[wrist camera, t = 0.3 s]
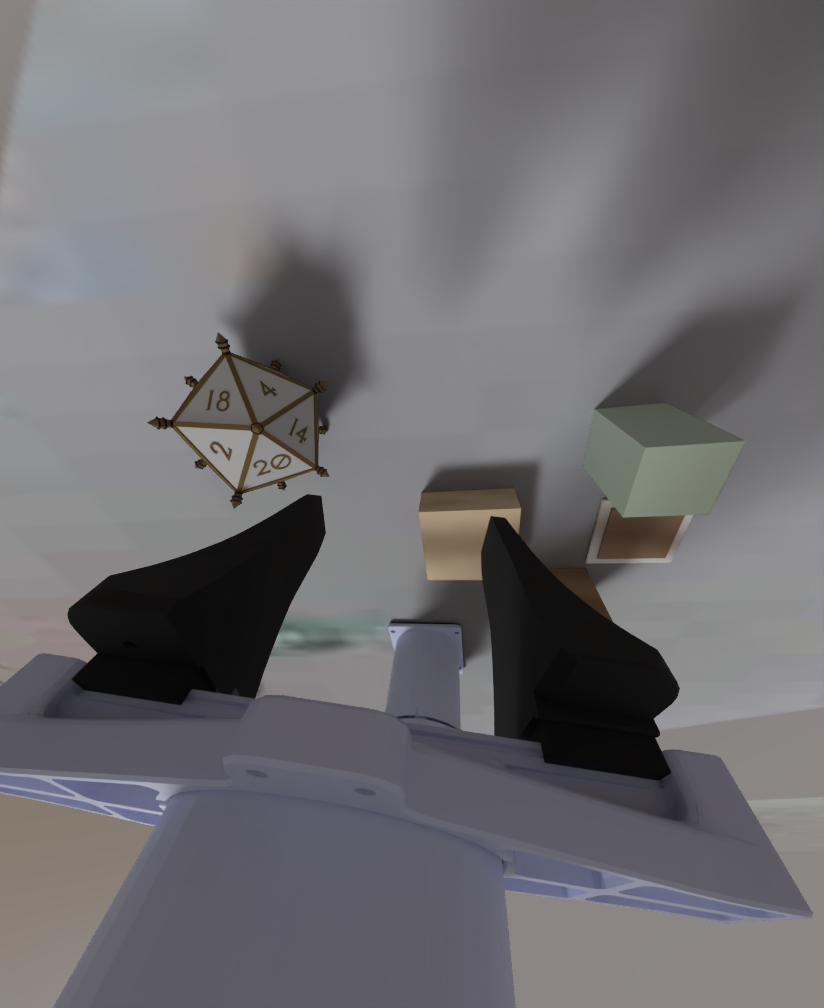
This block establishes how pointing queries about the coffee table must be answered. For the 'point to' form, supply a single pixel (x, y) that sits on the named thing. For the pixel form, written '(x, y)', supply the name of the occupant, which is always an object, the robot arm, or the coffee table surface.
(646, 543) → the swatch
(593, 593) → the walnut block
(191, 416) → the game die
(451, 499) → the oak base block
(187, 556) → the robot arm
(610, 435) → the sage green block
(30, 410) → the coffee table surface
